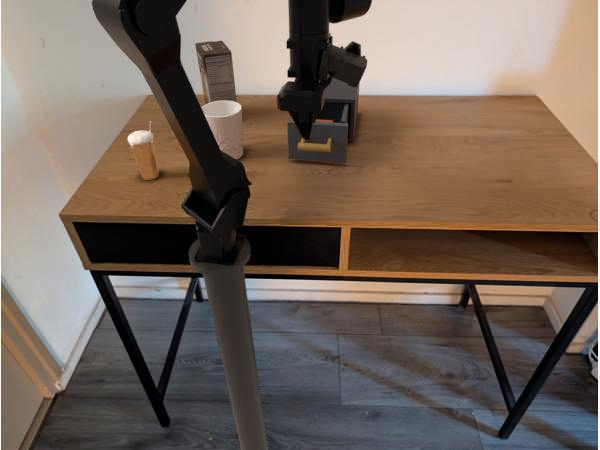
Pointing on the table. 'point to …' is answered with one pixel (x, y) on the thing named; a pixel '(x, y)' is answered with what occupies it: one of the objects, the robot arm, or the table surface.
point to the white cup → (226, 126)
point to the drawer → (322, 136)
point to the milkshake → (144, 153)
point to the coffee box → (216, 71)
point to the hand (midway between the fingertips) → (309, 130)
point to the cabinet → (344, 101)
